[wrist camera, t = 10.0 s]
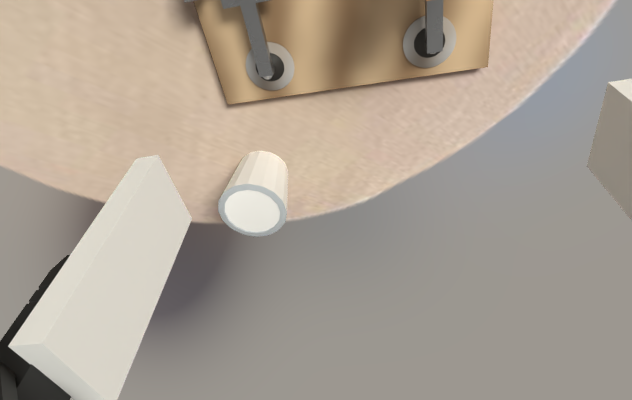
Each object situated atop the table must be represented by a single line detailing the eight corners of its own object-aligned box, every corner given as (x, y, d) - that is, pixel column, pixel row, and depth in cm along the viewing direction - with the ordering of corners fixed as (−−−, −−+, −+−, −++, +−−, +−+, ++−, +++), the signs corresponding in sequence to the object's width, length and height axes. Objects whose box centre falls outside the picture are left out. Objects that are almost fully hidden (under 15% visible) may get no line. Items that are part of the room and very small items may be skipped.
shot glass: (220, 171, 46) (204, 212, 41) (257, 133, 43) (245, 171, 37) (268, 205, 49) (258, 247, 43) (306, 172, 45) (301, 212, 40)
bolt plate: (230, 99, 40) (221, 117, 37) (176, -67, 32) (158, -61, 29) (484, 62, 37) (496, 79, 34) (499, -137, 28) (517, -138, 25)
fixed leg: (249, 76, 37) (245, 84, 36) (210, -60, 31) (204, -56, 29) (292, 69, 37) (290, 77, 35) (262, -71, 30) (257, -68, 29)
